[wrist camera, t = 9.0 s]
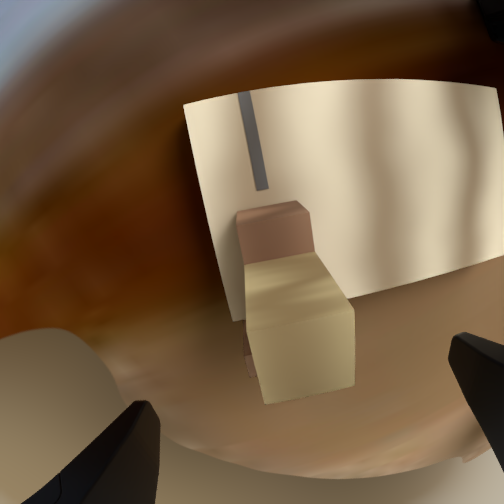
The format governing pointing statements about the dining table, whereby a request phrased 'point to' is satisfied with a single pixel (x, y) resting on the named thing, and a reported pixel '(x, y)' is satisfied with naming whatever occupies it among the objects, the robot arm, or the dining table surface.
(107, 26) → the dining table surface
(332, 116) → the board
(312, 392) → the stacked cube assembly
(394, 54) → the dining table surface
